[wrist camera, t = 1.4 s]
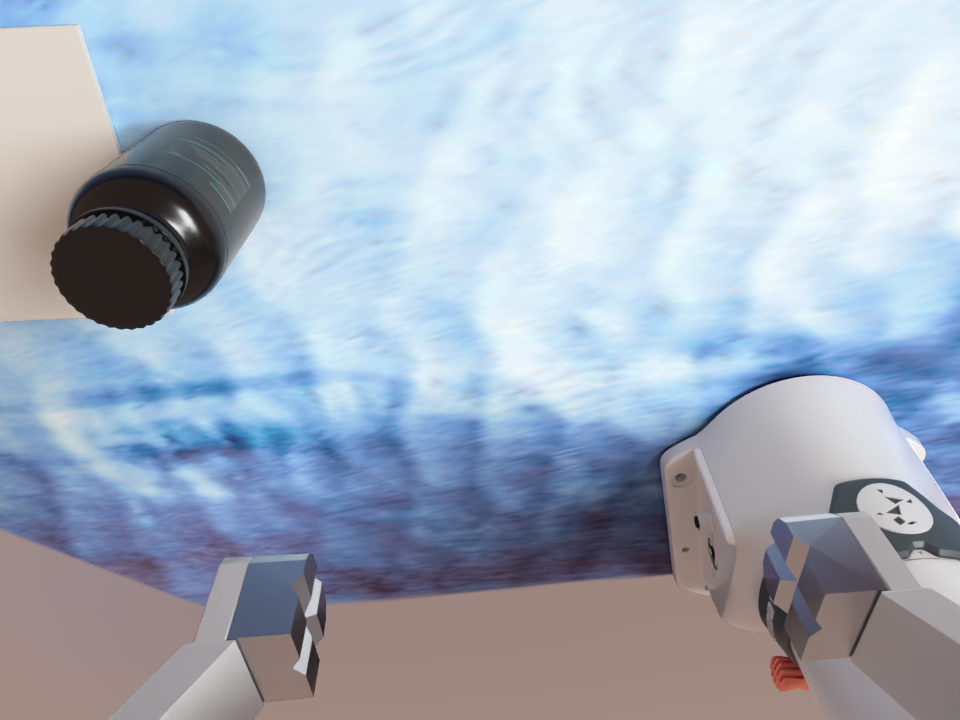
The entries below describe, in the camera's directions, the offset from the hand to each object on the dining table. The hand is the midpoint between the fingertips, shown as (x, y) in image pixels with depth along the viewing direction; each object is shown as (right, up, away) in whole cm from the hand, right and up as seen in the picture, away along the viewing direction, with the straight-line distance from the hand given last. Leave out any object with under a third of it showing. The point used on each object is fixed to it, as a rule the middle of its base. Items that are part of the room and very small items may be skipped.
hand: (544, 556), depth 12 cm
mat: (-27, +13, +25) cm, 39 cm away
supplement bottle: (-16, +13, +25) cm, 33 cm away
